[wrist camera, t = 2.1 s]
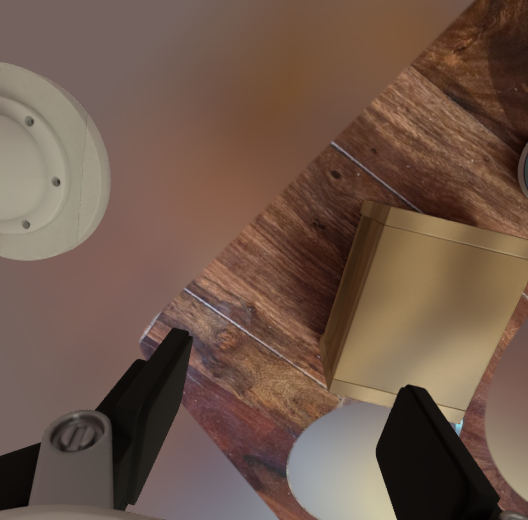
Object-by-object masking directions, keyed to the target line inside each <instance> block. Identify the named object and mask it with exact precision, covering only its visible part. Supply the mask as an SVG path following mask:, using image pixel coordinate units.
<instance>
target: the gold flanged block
mask: <svg viewBox="0 0 528 520" xmlns="http://www.w3.org/2000/svg"><path fill="white" fill-rule="evenodd" d="M360 214H362V215H361V218H360V221H359V224H358V227H357V230H356V234H355V237H354V240H353V243H352V246H351V249H350V253H349V256H348V259H347V262H346V265H345V269H344V272H343V275H342V278H341V281H340V285H339V288H338V291H337V294H336V297H335V300H334V304H333V307H332V310H331V313H330V316H329V320H328V323H327V326H326V329H325V332H324V334H321V337H320V341H319V344H318V345H319V350H320V355H321V360H322V365H323V369H324V374H325V379H326V384H327V389H328V392H329V393H332V394H337V395H341V396H345V397H349V398H353V399H357V400H361V401H365V402H369V403H374V404H378V405H382V406H386V407H390V408H392V407H393V404H394V402H395V399H396V397H397V394H398V392H399V390H400V388H401V387H405V386H406V385H407V384H410V385H414V386H419V387H423V388H425V389H426V390H427V391H428V392H429V394H430V395H431V397H432V398H433V400H434V401H435V403H436V404H437V406H438V407H439V409H440V410H441V412H442V413H443V414H444V416H445V417H446V419H447V420H448V422H452V423H456V424H460V423H461V421H462V419H463V416H464V414H465V412H466V409H467V407H468V405H469V403H470V401H471V399H472V397H473V395H474V393H475V391H476V389H477V386H478V384H479V382H480V380H481V378H482V376H483V374H484V372H485V370H486V368H487V366H488V364H489V361H490V359H491V357H492V355H493V353H494V351H495V349H496V347H497V345H498V343H499V341H500V339H501V336H502V334H503V332H504V330H505V328H506V326H507V324H508V322H509V320H510V318H511V316H512V314H513V311H514V309H515V307H516V305H517V303H518V301H519V299H520V297H521V295H522V293H523V291H524V289H525V286H526V284H527V282H528V239H525V238H521V237H517V236H513V235H508V234H504V233H500V232H496V231H492V230H488V229H484V228H480V227H476V226H472V225H468V224H464V223H459V222H455V221H451V220H447V219H443V218H439V217H435V216H430V215H426V214H422V213H418V212H414V211H410V210H406V209H402V208H397V207H393V206H389V205H385V204H381V203H377V202H373V201H368V200H363V203H362V206H361V210H360Z"/></svg>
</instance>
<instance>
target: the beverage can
mask: <svg viewBox="0 0 528 520" xmlns="http://www.w3.org/2000/svg"><path fill="white" fill-rule="evenodd" d="M518 180H519V184H520V187H521V189H522V191H523V193H524V194H525V196H526V197H527V198H528V143H527V144H526V146H525V148H524V149H523V152H522V154H521V157H520V160H519V164H518Z"/></svg>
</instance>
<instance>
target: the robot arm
mask: <svg viewBox="0 0 528 520" xmlns="http://www.w3.org/2000/svg"><path fill="white" fill-rule="evenodd" d="M70 182H71V179H70V167H69V163H68V158H67V154H66V152H65V150H64V147H63V145H62V143H61V141H60V139H59V138H58V136H57V134H56V133H55V131H54V130H53V128H52V127H51V126H50V125H49V124H48V123H47V122H46V120H45V119H44V118H43V117H41V116H40V115H39V114H38V113H37V112H35V111H34V110H33V109H31V108H29V107H28V106H26V105H24V104H22V103H21V102H18V101H15V100H12V99H9V98H6V97H2V96H0V233H3V234H10V235H11V234H24V233H29V232H34V231H36V230H39V229H42V228H44V227H45V226H47V225H48V224H50V223H51V222H53V221H54V220H55V219H56V217H57V216H58V215H59V214H60V213H61V211H62V209H63V208H64V206H65V204H66V201H67V198H68V195H69V190H70ZM188 335H189V332H188V331H185V330H181V329H177V328H172V329H171V331H170V332H169V333H168V335H167V336H166V337H165V339H164V340H163V341H162V343H161V344H160V345H159V347H158V348H157V350H156V351H155V352H154V354H153V355H152V356H151V358H150V359H149V360H148V361H145V360H141V359H137V360H136V361H135V362H134V363H133V364H132V365H131V367H130V368H129V369H128V370H127V371H126V373H125V374H124V375H123V376H122V378H121V379H120V380H119V381H118V382H117V384H116V385H115V386H114V388H113V389H112V390H111V391H110V392H109V394H108V395H107V396H106V397H105V398H104V400H103V401H102V402H101V403H100V405H99V406H98V407H97V408H96V409H95V411H93V410H79V411H74V412H70V413H68V414H66V415H63V416H61V417H59V418H58V419H57V420H55V421H54V422H52V423H51V424H50V426H49V427H48V428H47V429H46V430H45V433H44V435H43V437H42V442H40V443H38V444H34V445H31V446H28V447H26V448H23V449H20V450H17V451H14V452H11V453H8V454H5V455H2V456H0V520H164V519H158V518H154V517H149V516H144V515H140V514H135V513H130V512H125V509H126V507H127V505H128V504H131V505H135V503H136V501H137V499H138V497H139V495H140V493H141V491H142V488H143V486H144V484H145V482H146V479H147V478H148V475H149V473H150V471H151V469H152V467H153V464H154V462H155V460H156V458H157V455H158V453H159V451H160V449H161V447H162V444H163V442H164V440H165V438H166V436H167V433H168V431H169V429H170V427H171V425H172V422H173V420H174V418H175V416H176V414H177V412H178V409H179V406H180V403H181V399H182V394H183V389H184V384H185V379H186V373H187V368H188V363H189V358H190V352H191V347H192V342H193V337H192V336H188ZM376 458H377V461H378V464H379V467H380V470H381V473H382V476H383V479H384V482H385V485H386V488H387V491H388V494H389V497H390V500H391V503H392V506H393V509H394V512H395V515H396V518H397V520H528V517H527V516H525V515H523V514H521V513H518V512H515V511H511V510H507V511H503V512H502V510H501V509H500V507H499V506H498V504H497V503H498V501H499V500H500V497H499V495H498V494H497V492H496V491H495V489H494V488H493V487H492V485H491V484H490V482H489V481H488V479H487V478H486V476H485V475H484V473H483V472H482V470H481V469H480V467H479V466H478V464H477V463H476V462H475V460H474V459H473V457H472V456H471V454H470V453H469V451H468V450H467V448H466V447H465V445H464V444H463V442H462V441H461V439H460V438H459V437H458V435H457V434H456V432H455V431H454V429H453V428H452V426H451V425H450V423H449V422H448V420H447V419H446V417H445V416H444V414H443V413H442V412H441V410H440V409H439V407H438V406H437V404H436V403H435V401H434V400H433V398H432V397H431V395H430V394H429V392H428V391H427V390H426V389H425V388H423V387H419V386H414V385H410V384H407V385H406V386H405V387H401V388H400V390H399V392H398V394H397V397H396V399H395V402H394V404H393V407H392V409H391V412H390V414H389V417H388V419H387V422H386V424H385V426H384V429H383V431H382V434H381V436H380V439H379V441H378V444H377V447H376Z"/></svg>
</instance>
